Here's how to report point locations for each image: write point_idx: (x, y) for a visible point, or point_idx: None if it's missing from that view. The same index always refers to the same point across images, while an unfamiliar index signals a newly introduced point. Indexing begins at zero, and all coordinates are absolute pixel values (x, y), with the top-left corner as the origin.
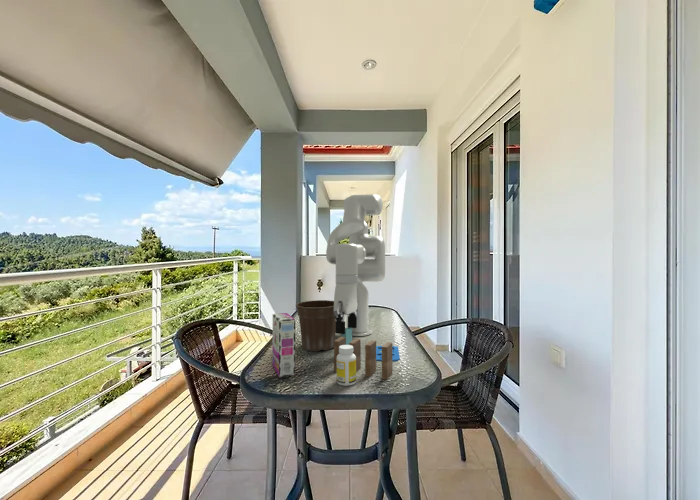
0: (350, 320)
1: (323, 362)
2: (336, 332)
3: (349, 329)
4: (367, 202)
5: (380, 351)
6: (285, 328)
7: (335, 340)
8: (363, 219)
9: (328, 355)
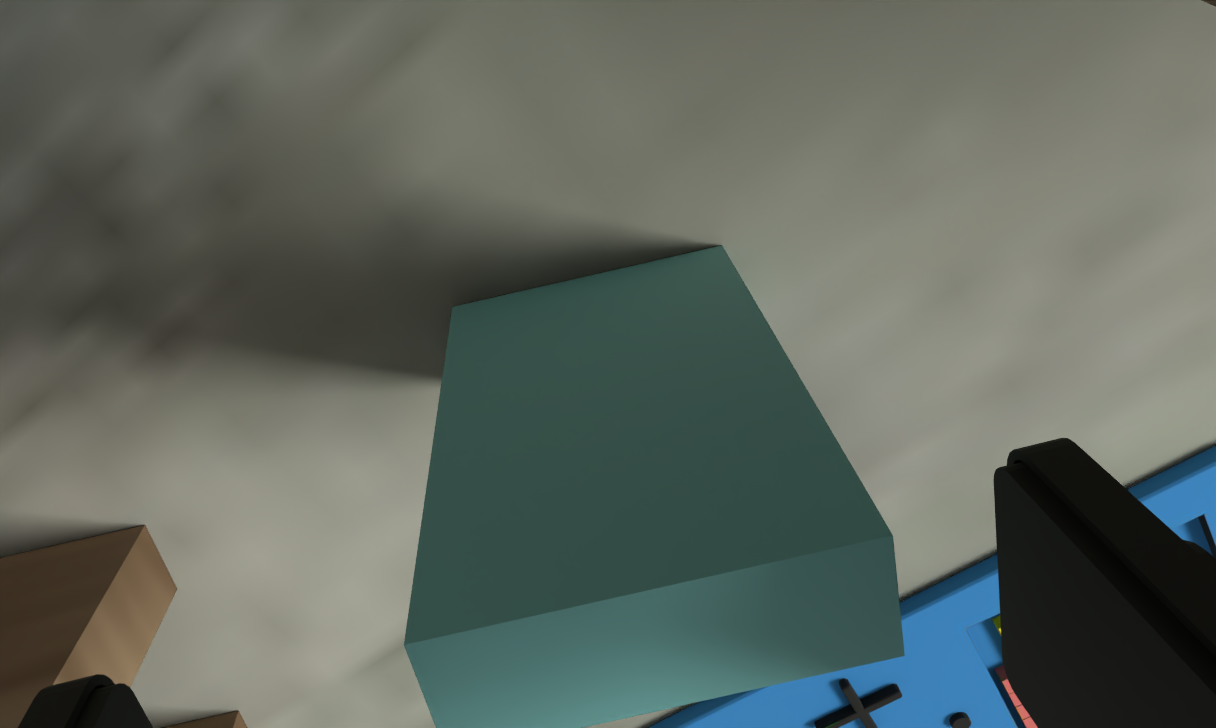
0: (1136, 709)
1: (6, 212)
2: (51, 711)
3: (705, 693)
4: None
5: None
6: None
7: None
8: None
9: (371, 17)
